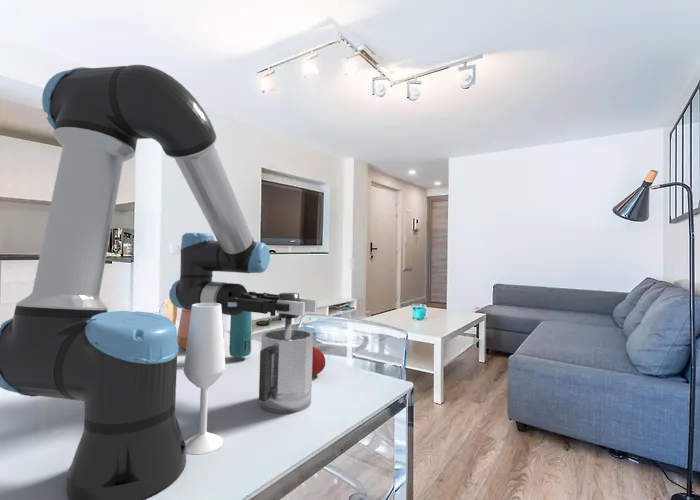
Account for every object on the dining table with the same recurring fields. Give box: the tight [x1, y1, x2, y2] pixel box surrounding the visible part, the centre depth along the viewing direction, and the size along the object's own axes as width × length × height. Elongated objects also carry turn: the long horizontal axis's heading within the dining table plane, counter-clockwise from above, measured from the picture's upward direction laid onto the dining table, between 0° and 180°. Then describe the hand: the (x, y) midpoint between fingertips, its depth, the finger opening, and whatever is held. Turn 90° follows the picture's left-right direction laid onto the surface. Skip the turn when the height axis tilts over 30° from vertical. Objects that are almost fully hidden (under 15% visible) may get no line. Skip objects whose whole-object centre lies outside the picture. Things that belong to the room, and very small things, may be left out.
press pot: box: [258, 328, 314, 414], centre depth 80 cm, size 14×11×15 cm
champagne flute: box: [183, 303, 226, 455], centre depth 64 cm, size 7×7×24 cm
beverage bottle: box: [228, 311, 253, 358], centre depth 112 cm, size 6×7×20 cm
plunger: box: [277, 292, 300, 340], centre depth 82 cm, size 8×8×19 cm
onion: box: [312, 345, 326, 377], centre depth 99 cm, size 6×6×8 cm
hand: (309, 307), depth 79 cm, fingers closed on plunger, 4 cm apart
